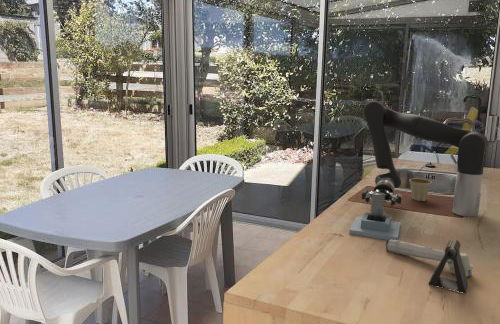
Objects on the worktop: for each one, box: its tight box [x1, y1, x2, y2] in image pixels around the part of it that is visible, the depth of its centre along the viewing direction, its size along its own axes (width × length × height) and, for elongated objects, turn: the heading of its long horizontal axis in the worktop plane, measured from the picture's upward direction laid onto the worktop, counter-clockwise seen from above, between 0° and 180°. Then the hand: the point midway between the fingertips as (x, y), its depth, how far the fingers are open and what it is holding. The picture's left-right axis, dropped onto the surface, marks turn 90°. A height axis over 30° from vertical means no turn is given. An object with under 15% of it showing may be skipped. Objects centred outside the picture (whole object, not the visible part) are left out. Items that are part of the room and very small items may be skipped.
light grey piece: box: [385, 239, 474, 278], centre depth 128 cm, size 5×7×25 cm
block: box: [348, 212, 402, 241], centre depth 153 cm, size 16×16×4 cm
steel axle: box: [369, 192, 385, 222], centre depth 152 cm, size 4×4×12 cm
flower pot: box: [409, 178, 433, 202], centre depth 192 cm, size 9×9×9 cm
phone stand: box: [428, 238, 469, 294], centre depth 113 cm, size 9×6×12 cm, turn 58°
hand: (379, 201), depth 155 cm, fingers open, 8 cm apart
